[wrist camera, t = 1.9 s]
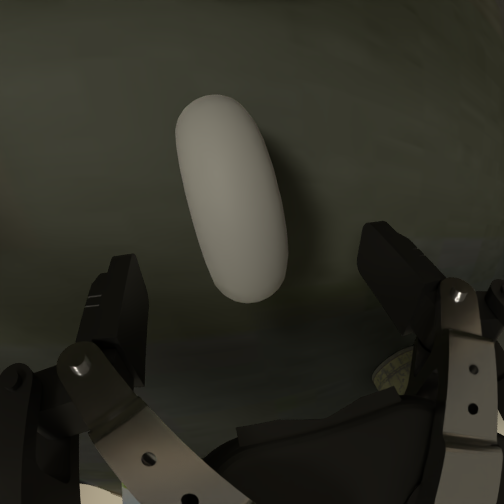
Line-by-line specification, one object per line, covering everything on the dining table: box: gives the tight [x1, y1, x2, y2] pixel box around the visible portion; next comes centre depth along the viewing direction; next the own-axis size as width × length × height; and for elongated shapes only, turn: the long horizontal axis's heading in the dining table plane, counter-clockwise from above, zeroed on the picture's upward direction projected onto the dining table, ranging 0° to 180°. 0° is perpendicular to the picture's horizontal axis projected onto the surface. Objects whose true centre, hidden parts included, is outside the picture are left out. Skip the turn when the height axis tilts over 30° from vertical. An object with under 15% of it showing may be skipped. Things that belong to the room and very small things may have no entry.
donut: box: [175, 94, 288, 303], centre depth 14 cm, size 10×4×10 cm, turn 10°
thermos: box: [372, 346, 413, 395], centre depth 25 cm, size 9×12×35 cm
